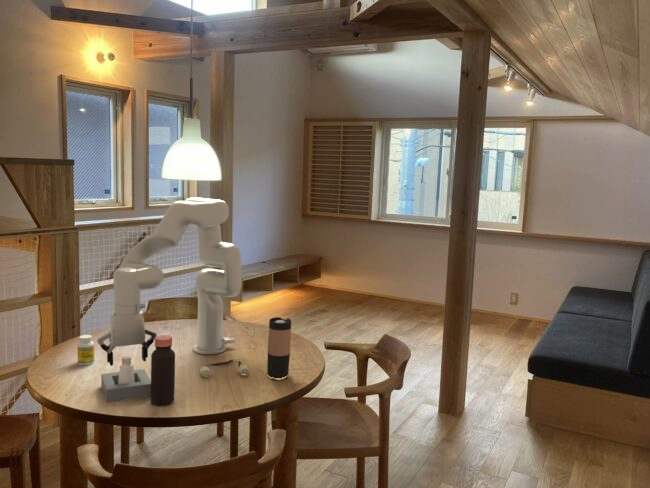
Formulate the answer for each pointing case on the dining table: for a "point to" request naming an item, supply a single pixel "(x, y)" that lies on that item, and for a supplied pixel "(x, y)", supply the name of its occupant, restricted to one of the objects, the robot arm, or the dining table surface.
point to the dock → (125, 386)
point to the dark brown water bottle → (162, 371)
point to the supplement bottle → (85, 350)
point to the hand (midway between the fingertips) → (127, 362)
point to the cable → (206, 372)
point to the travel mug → (278, 347)
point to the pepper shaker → (126, 371)
